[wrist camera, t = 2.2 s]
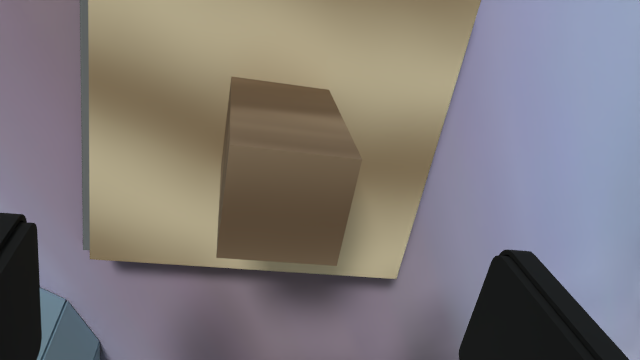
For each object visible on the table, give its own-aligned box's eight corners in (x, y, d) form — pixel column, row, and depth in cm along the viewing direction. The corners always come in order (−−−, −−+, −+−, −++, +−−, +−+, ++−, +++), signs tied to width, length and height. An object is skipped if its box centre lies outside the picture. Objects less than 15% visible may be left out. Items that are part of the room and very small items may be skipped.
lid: (98, -101, 15) (17, -97, 9) (471, -28, 17) (584, 9, 11) (97, 239, 19) (44, 373, 14) (388, 260, 22) (439, 383, 16)
